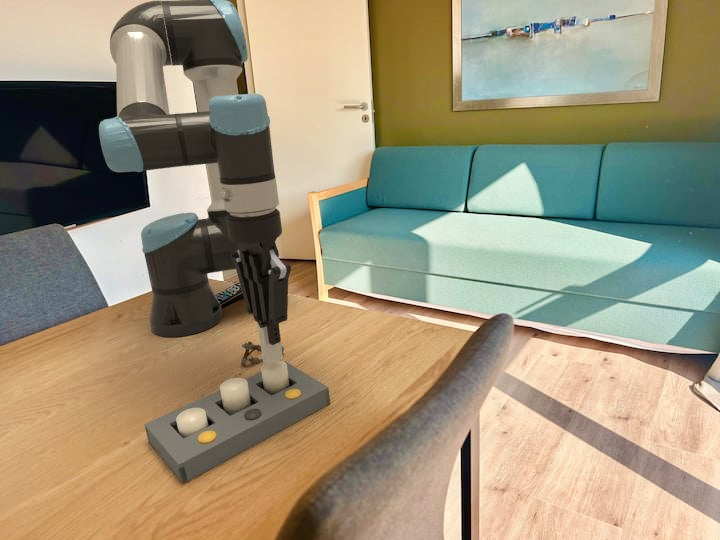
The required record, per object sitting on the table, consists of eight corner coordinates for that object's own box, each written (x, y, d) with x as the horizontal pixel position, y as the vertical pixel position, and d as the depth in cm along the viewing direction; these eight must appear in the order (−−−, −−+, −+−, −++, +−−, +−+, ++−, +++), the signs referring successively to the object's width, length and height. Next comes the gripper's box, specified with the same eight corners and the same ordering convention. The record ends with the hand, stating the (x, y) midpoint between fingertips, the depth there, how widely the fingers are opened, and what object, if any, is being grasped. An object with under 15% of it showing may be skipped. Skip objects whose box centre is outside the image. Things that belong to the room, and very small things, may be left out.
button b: (219, 407, 78) (215, 385, 76) (242, 396, 80) (239, 374, 79) (231, 418, 75) (228, 395, 74) (255, 406, 77) (252, 384, 76)
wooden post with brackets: (235, 363, 93) (241, 339, 93) (274, 365, 98) (280, 343, 98) (238, 366, 92) (245, 342, 91) (278, 369, 96) (284, 346, 96)
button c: (259, 388, 82) (256, 367, 81) (280, 378, 84) (277, 357, 83) (272, 398, 79) (269, 376, 78) (294, 387, 82) (291, 366, 80)
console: (148, 441, 74) (143, 422, 73) (286, 376, 89) (284, 359, 88) (183, 483, 66) (178, 462, 65) (330, 403, 80) (328, 385, 79)
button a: (176, 438, 74) (171, 416, 73) (202, 426, 76) (198, 404, 75) (188, 451, 71) (183, 428, 70) (214, 438, 74) (210, 415, 72)
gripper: (206, 210, 75) (231, 355, 82) (252, 222, 65) (275, 384, 73) (251, 200, 79) (271, 338, 87) (301, 210, 70) (317, 364, 78)
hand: (273, 359), depth 80 cm, fingers closed
